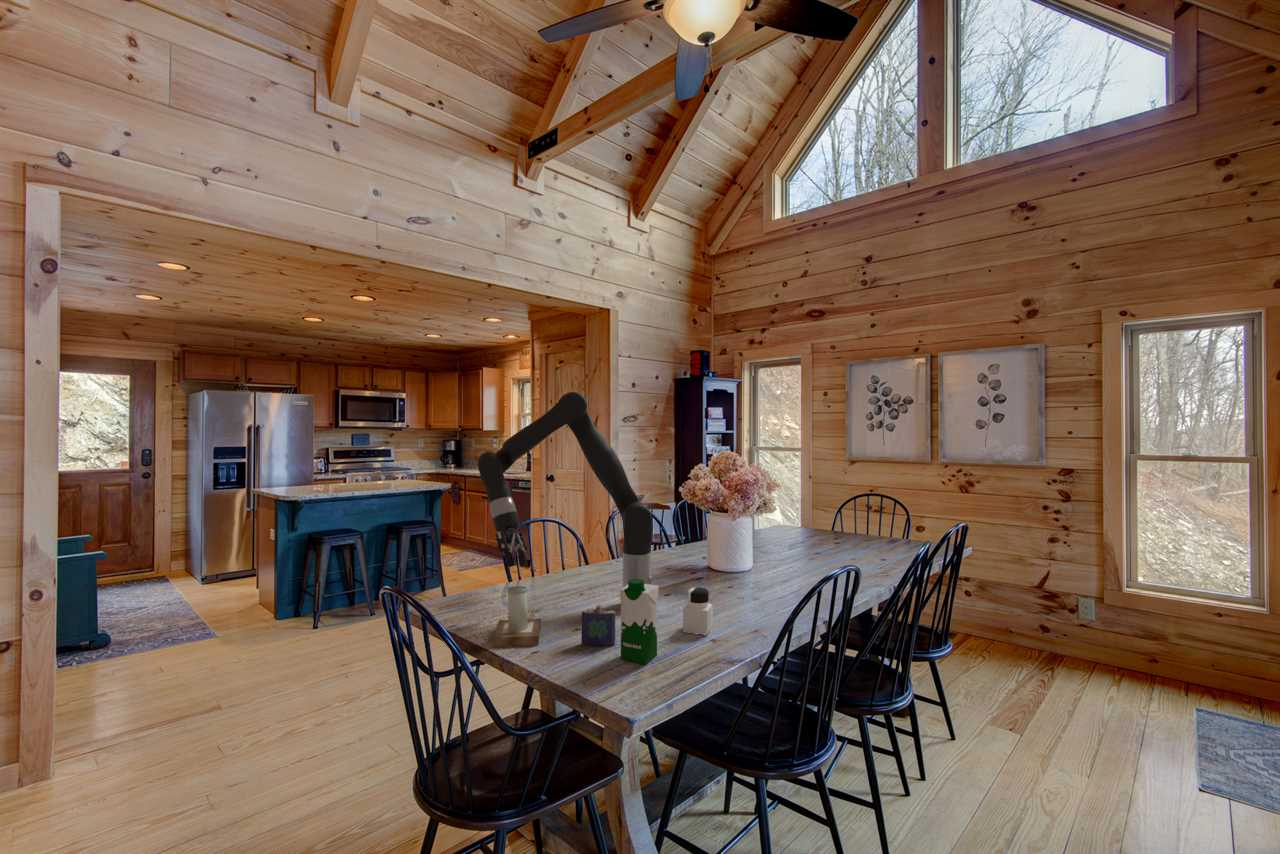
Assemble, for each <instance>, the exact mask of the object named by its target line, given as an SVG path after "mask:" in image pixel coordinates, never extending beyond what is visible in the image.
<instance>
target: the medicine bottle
mask: <svg viewBox="0 0 1280 854" xmlns="http://www.w3.org/2000/svg"><path fill="white" fill-rule="evenodd" d="M709 596H710V593H709V590H708V589H706V588H704V587H697V586H696V587H691V588H688V590H687V603H686V605H684V607H683V608H682V632H690V633H698V634H706V635H707V634H708V633H709V634H710V632H711V630H712V629H711V628H713V608H714V607H713V604H712V603H710V602H709V600H710V598H709ZM709 631H710V632H709ZM709 634H708V635H709ZM708 635H707V636H708Z"/></svg>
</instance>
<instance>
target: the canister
mask: <svg viewBox="0 0 1280 854" xmlns="http://www.w3.org/2000/svg"><path fill="white" fill-rule="evenodd" d="M528 588H529V587H528V586H523V585H514V586H510V587H508V588H507V612H508V613H507V617H508V618H507V620H508V630H510V631H513V632H519V631H524V630H526V629H527V628H528V627H527V619H528Z"/></svg>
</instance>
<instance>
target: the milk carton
mask: <svg viewBox="0 0 1280 854" xmlns="http://www.w3.org/2000/svg"><path fill="white" fill-rule="evenodd" d="M659 587H660V586H659V585H656V584H652V585H649V584H644V581H643V580H640V579H632V580H629V581H628V585H626V586H625V587H623V586H622V588H620V589H619V595H620V596H619V597H620V661H624V662H629V663H633V664H639V665H644V666H646V665H648V664H649V663H650V662H651V661H652V660H653V659H654V658H655V657H656V656H657V655H658V600H659Z"/></svg>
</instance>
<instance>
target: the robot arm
mask: <svg viewBox="0 0 1280 854" xmlns="http://www.w3.org/2000/svg"><path fill="white" fill-rule="evenodd" d="M566 425H567V427H568V428H569V429H570V430H571V432H572V434H573V435H574V436H575V438H576V439H577V442H578V444H579V446H580V449H581V451H582V453H583V455H584V457H585V459H586V461H587V462H588V465H589V467H590V468H591V470H592V471H593V473H594V475H595V477H596V478H597V479H598V481H599V482H600V484H601V486H603V487H604V488H605V490H606V491H607V493H608V494H609V496H611V498H612V501H613V502H614V504H615V505H616V507H617V510H618V512H619V514H620V517H621V520H622V522H623V543H622V588H623V587H625V586H626V585H628V581H629V580H632V579H640V580H643V581H644V584H649V585H653V584H652V583H653V580H652V579H653V578H652V576H651V575H652V573H651V571H652V570H651V568H652V559H651V558H652V553H651V551H652V544H653V515H652V512H651V511H650V509H649V508H648V507H647V506H646V505H645V504H644V503H643V502H642V500H641V499H640V498H639V496H638V495H637V494H636V492H635V490H634V489H633V487H632V486H631V484H630V482H629V481H630V480H629V479H628V477H627V472H625V469H624V466H623V464H622V462H621V461H620V459H619V456H617V453H616V452H615V450H614V449H613V447H612V446H611V444H610V443H609V442H608V440H607V439H606V437H604V435H603V434H602V432H600V431H599V429H598V428H597V427H596V426H595V423H594V422H593V420H592V418H591V416H590V414H589V412H588V402H587V399H586V397H585V396H584V395H583V394H581V393H579V392H576V391H569V392H565V394H563V395H562V396H561V397H560V398H559V400H558V401H557V402H556V403H555V405H553V407H552V408H550V409H549V410H548V411H547V412H545V414H542V416H540V417H539V418H537V419H536V420H534V421H532V422H531V423H529V424H528V425H526V426H525V427H523V428H522V429H520V430H519V431H518V432H516V433H515V434H513V435H511V436H510V437H509V438H508V439H506V440H505V441H504V442H503V443H502V447H501V448H499V450H497V451H496V452H493V451H485V452H483V453H481V454H480V455H479V457H478V460H477V469H478V472H479V475H480V478H481V481H482V482H483V484H484V488H485V492H486V495H487V496H486V497H487V500H488V504H489V509H490V510H489V511H490V514H491V519H492V523H493V527H494V531H495V539H496V543H497V548H498V551H499V553H500V554H502V555H503V556H504V558H505V562H506V565H507V568H512V567H514V566H516V561H515V558H514V554H513V551H515V553H516V554H517V559H518V563H519V565H520V566H519V567H521V568H522V567H526V566H528V563H529V562H528V560H527V556H526V551H528V546H527V542H526V538H525V536H524V533H523V532H518V528H519V527H520V526H521V523H520V519H519V516H518V515H519V514H518V512H517V511H518V510H517V508H516V504H515V502H514V500H513V499H514V498H513V497H512V492H511V489H510V486H509V484H508V481H506V478H505V475H504V474H505V472H507V470H508V469H510V468H511V467H512V466H513V465H514V464H515V462H516V461H518V460H519V459H520V458H522V457H523V456H525V455H526V454H527V453H530V451H531V450H533V449H534V448H535V447H537V446H538V445H539V444H541V442H543V441H544V440H546V438H548V437H549V436H551V435H552V434H553V433H554V432H556V431H557V430H559V429H560V428H562V427H564V426H566Z"/></svg>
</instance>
